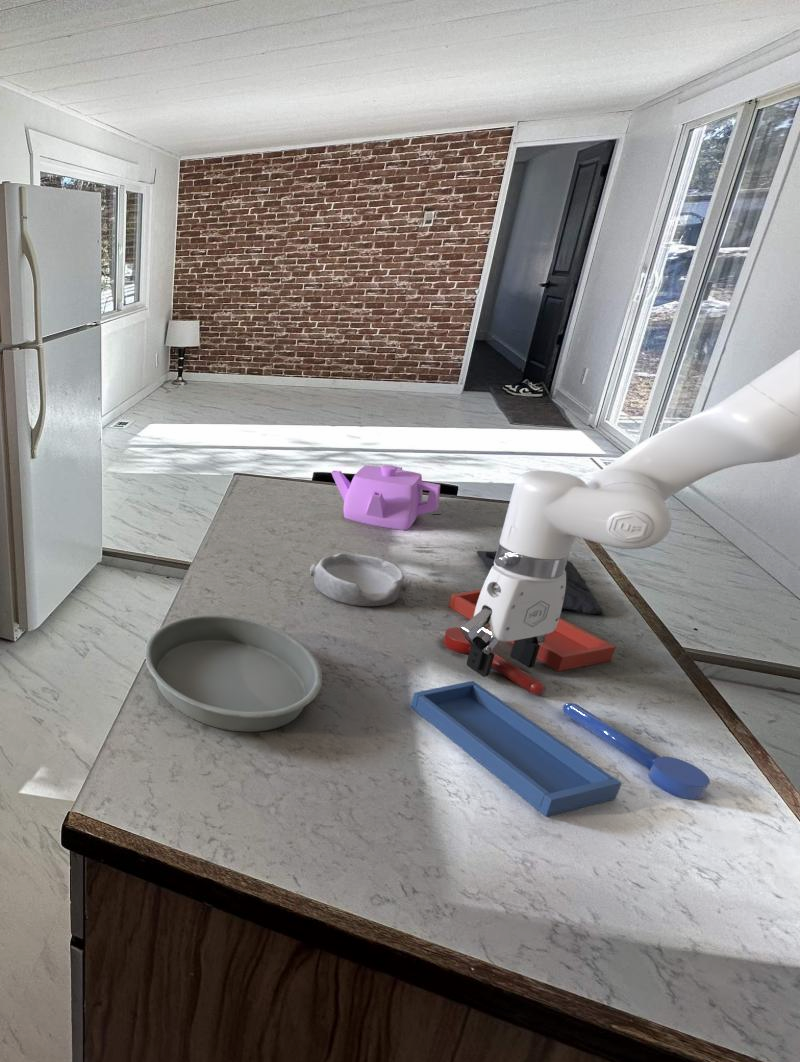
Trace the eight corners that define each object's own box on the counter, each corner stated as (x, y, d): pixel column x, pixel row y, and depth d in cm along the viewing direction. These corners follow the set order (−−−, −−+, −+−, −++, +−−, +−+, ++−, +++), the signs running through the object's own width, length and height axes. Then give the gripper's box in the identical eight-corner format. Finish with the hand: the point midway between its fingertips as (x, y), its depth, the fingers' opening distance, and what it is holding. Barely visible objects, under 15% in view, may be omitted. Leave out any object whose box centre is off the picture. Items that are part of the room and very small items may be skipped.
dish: (417, 600, 114) (422, 575, 112) (357, 618, 110) (362, 592, 108) (350, 566, 126) (354, 543, 125) (294, 581, 122) (297, 558, 120)
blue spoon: (548, 714, 86) (552, 702, 85) (576, 708, 87) (580, 696, 86) (682, 803, 72) (689, 790, 71) (714, 795, 73) (721, 781, 72)
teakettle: (441, 528, 140) (452, 475, 136) (367, 534, 139) (376, 481, 135) (390, 500, 156) (399, 452, 151) (323, 506, 155) (330, 457, 150)
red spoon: (554, 694, 89) (558, 683, 89) (527, 700, 89) (530, 688, 88) (460, 635, 103) (463, 625, 103) (436, 640, 103) (438, 629, 102)
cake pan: (116, 654, 104) (117, 631, 102) (247, 625, 109) (249, 602, 108) (201, 761, 82) (203, 733, 80) (359, 716, 87) (364, 690, 86)
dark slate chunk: (497, 604, 111) (503, 580, 109) (473, 551, 129) (478, 530, 128) (611, 621, 105) (619, 596, 103) (569, 563, 123) (576, 541, 121)
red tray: (448, 606, 111) (451, 594, 110) (494, 598, 113) (498, 586, 112) (558, 671, 94) (562, 657, 93) (611, 660, 96) (616, 646, 95)
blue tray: (410, 707, 89) (413, 692, 88) (469, 695, 90) (472, 680, 89) (545, 817, 71) (551, 800, 70) (615, 799, 73) (622, 782, 72)
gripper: (502, 581, 83) (471, 692, 90) (610, 563, 86) (573, 671, 93) (453, 557, 90) (428, 661, 97) (554, 540, 93) (524, 643, 100)
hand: (499, 665), depth 95 cm, fingers open, 7 cm apart
